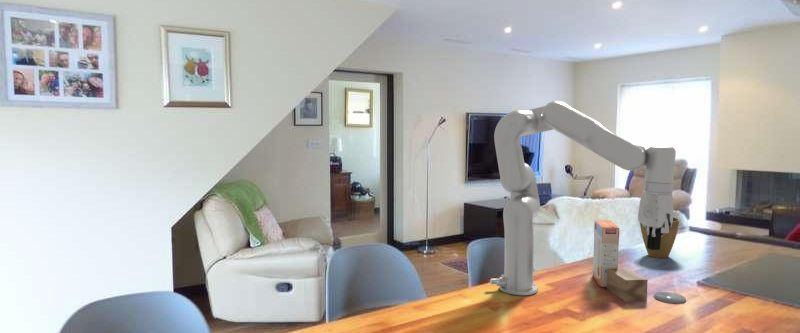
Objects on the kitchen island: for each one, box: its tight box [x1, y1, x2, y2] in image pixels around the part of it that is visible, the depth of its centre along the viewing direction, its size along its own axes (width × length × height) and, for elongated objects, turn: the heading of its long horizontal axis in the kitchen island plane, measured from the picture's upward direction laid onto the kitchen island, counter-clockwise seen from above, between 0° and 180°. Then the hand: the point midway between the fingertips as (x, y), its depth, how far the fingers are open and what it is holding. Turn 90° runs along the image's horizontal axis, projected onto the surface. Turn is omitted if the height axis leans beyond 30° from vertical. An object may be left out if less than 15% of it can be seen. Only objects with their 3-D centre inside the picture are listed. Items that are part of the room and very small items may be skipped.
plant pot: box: [639, 216, 680, 259], centre depth 212 cm, size 15×15×16 cm
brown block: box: [606, 268, 649, 302], centre depth 165 cm, size 7×12×7 cm, turn 3°
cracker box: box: [592, 219, 620, 288], centre depth 178 cm, size 14×6×21 cm, turn 169°
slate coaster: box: [653, 291, 687, 304], centre depth 162 cm, size 9×9×1 cm
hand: (653, 249), depth 151 cm, fingers closed
